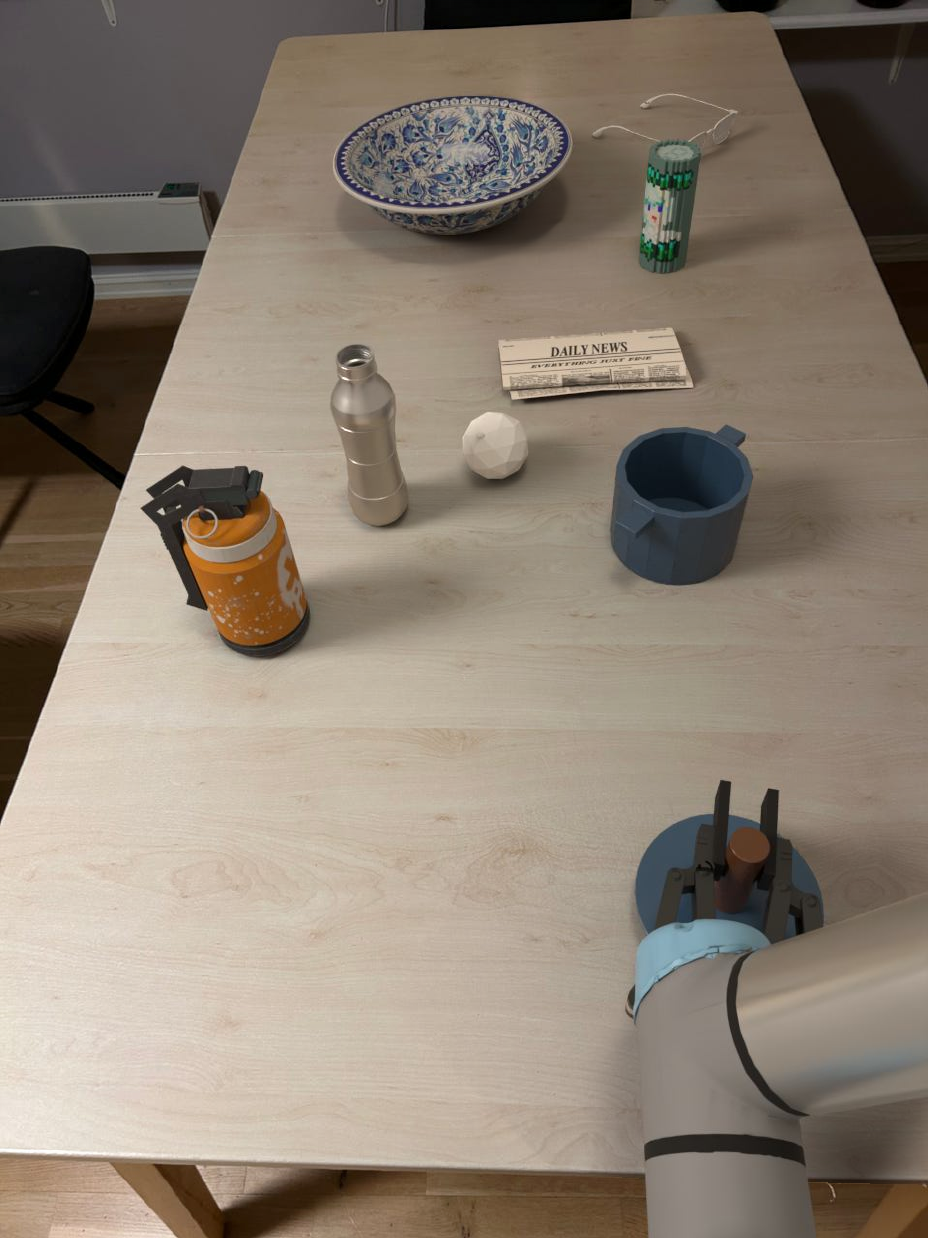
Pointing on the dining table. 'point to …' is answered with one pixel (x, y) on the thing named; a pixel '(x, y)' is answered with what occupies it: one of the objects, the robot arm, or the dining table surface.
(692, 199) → the can
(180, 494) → the canister
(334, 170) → the ceramic bowl
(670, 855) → the lid
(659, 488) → the pot
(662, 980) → the robot arm
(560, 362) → the newspaper
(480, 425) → the ornament
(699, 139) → the eyeglasses
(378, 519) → the metal water bottle
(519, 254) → the dining table surface
